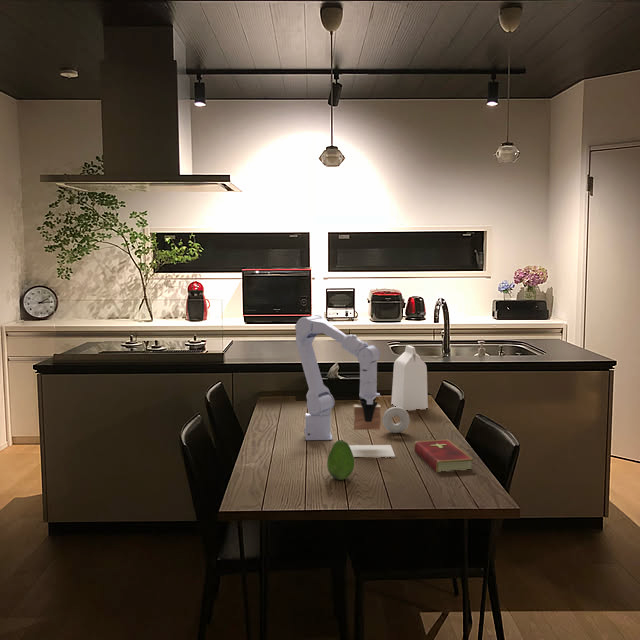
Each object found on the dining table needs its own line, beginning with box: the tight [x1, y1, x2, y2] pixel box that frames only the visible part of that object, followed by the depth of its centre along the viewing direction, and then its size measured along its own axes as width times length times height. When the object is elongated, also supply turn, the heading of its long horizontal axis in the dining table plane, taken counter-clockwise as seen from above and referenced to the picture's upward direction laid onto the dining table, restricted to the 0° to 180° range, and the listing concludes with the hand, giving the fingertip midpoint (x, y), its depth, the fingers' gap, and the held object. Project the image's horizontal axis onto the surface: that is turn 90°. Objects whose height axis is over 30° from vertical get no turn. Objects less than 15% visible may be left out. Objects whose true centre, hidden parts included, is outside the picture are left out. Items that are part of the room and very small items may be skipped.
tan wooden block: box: [353, 404, 382, 431], centre depth 232 cm, size 4×9×8 cm, turn 91°
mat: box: [348, 444, 396, 459], centre depth 228 cm, size 16×12×1 cm
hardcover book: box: [413, 439, 474, 473], centre depth 219 cm, size 12×21×4 cm, turn 11°
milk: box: [390, 344, 429, 411], centre depth 287 cm, size 12×12×26 cm
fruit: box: [326, 439, 355, 481], centre depth 202 cm, size 8×8×12 cm
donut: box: [382, 406, 411, 434], centre depth 249 cm, size 10×4×10 cm, turn 91°
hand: (367, 419), depth 233 cm, fingers closed on tan wooden block, 3 cm apart
